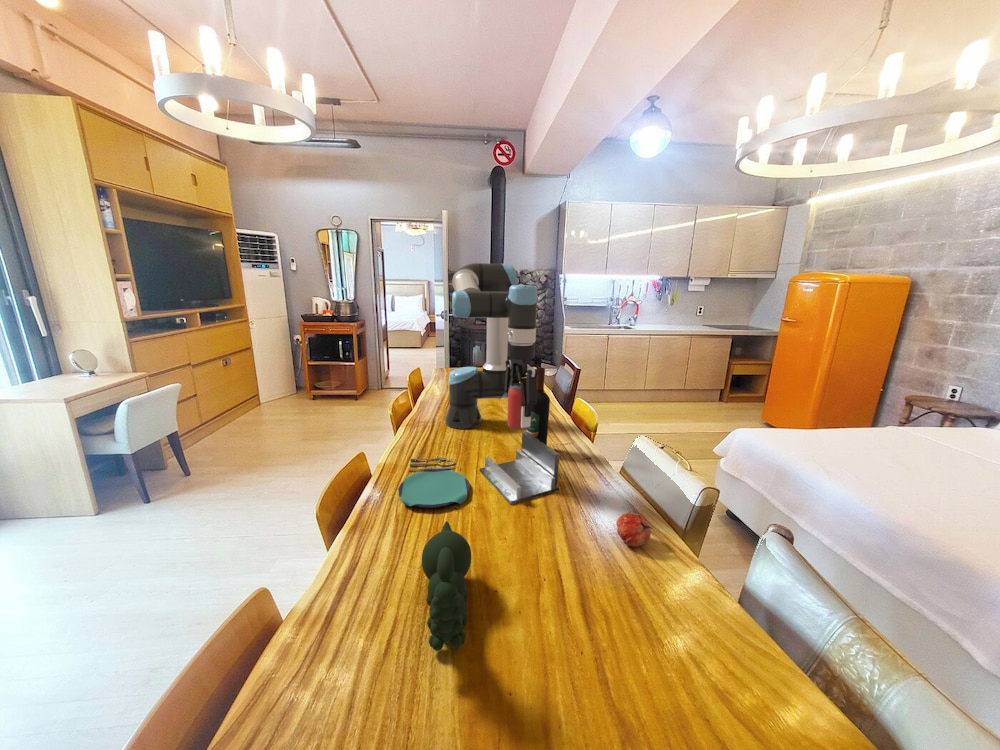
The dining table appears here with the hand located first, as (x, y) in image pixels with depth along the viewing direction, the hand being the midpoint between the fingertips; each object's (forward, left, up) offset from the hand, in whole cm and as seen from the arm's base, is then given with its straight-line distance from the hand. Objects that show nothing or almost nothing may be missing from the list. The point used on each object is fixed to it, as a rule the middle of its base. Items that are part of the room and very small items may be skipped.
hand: (518, 422), depth 107 cm
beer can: (0, 0, -1) cm, 1 cm away
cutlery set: (-10, -22, -19) cm, 31 cm away
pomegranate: (+35, +10, -19) cm, 41 cm away
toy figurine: (+33, -34, -19) cm, 51 cm away
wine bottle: (-15, +16, -19) cm, 29 cm away
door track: (0, 0, -19) cm, 19 cm away
